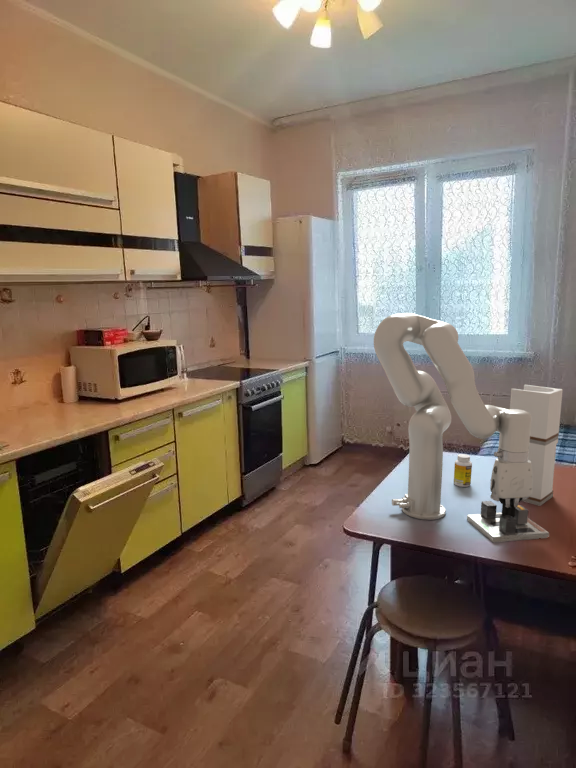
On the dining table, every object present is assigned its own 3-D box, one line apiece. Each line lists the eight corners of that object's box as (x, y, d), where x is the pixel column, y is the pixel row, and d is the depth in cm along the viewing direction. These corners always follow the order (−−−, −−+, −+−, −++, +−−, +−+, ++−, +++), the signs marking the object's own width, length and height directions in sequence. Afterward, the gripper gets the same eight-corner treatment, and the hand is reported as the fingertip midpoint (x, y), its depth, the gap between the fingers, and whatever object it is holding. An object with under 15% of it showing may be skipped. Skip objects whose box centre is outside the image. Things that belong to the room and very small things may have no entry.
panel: (492, 542, 138) (494, 522, 137) (466, 519, 151) (468, 501, 151) (548, 537, 140) (550, 518, 139) (518, 516, 154) (519, 498, 153)
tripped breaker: (517, 524, 144) (518, 509, 144) (511, 519, 148) (512, 505, 147) (527, 523, 145) (528, 509, 144) (520, 518, 148) (521, 504, 147)
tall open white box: (552, 496, 169) (562, 389, 162) (540, 506, 161) (549, 393, 155) (517, 487, 177) (525, 384, 171) (503, 495, 169) (511, 388, 163)
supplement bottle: (465, 488, 175) (467, 459, 173) (450, 484, 179) (452, 455, 177) (473, 484, 179) (475, 455, 177) (458, 480, 183) (460, 452, 181)
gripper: (494, 460, 137) (489, 526, 141) (547, 458, 139) (541, 523, 143) (480, 452, 145) (475, 515, 148) (530, 450, 147) (525, 512, 150)
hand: (507, 519), depth 145 cm, fingers closed
